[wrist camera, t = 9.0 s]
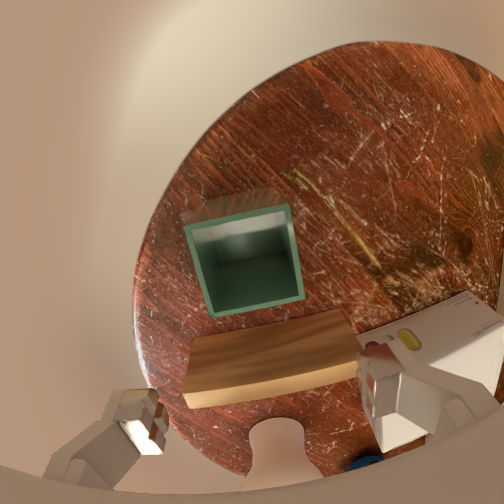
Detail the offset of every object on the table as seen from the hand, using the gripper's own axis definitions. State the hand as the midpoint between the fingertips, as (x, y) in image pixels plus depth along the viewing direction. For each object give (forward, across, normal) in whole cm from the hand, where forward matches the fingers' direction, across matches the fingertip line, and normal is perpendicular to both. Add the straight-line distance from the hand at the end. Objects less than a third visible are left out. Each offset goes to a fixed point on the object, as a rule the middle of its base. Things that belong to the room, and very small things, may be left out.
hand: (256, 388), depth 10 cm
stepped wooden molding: (+21, 0, +14) cm, 25 cm away
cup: (+21, +2, +29) cm, 36 cm away
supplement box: (+21, -18, +20) cm, 34 cm away
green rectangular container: (+20, 0, +4) cm, 21 cm away
